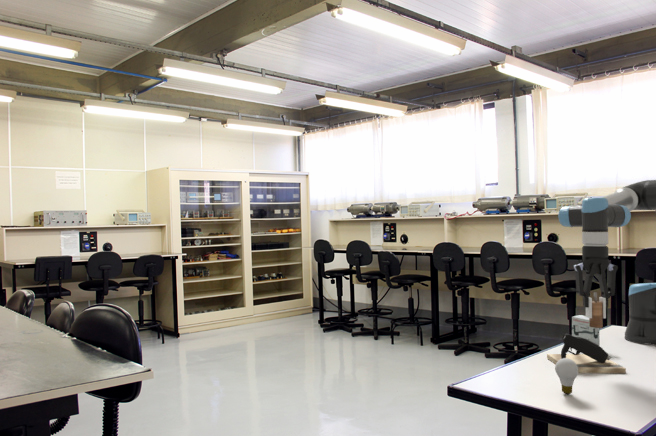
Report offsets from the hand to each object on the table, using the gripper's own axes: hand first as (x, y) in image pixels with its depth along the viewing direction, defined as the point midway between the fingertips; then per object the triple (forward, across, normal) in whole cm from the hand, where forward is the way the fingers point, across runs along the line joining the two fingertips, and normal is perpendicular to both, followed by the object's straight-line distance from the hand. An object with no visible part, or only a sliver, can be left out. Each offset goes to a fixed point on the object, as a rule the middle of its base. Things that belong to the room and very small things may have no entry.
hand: (595, 317), depth 162 cm
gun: (+16, +1, -4) cm, 16 cm away
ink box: (+17, -10, -29) cm, 35 cm away
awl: (+3, 0, 0) cm, 3 cm away
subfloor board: (+17, +1, -6) cm, 18 cm away
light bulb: (+18, +19, +23) cm, 35 cm away
